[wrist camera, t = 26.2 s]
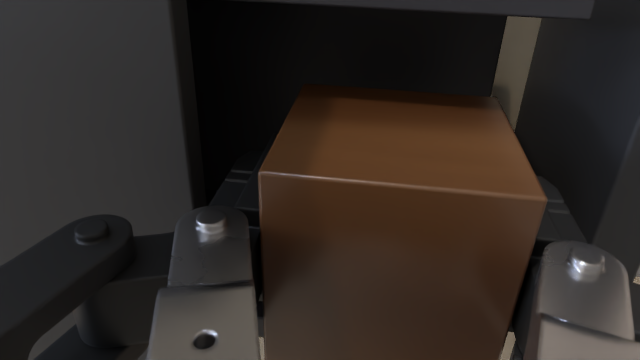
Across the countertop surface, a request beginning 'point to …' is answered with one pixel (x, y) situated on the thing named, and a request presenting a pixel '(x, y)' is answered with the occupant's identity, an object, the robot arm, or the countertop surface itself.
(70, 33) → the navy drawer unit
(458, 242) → the block
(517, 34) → the countertop surface
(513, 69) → the countertop surface
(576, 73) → the open drawer cabinet
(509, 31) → the countertop surface
